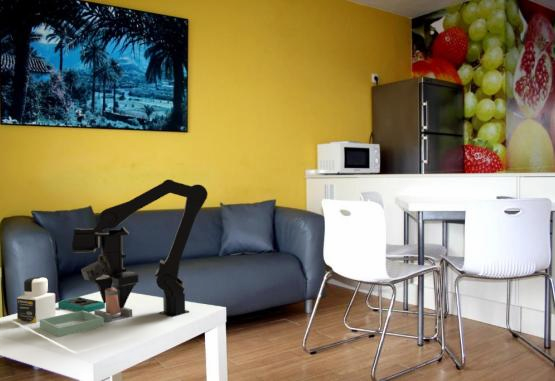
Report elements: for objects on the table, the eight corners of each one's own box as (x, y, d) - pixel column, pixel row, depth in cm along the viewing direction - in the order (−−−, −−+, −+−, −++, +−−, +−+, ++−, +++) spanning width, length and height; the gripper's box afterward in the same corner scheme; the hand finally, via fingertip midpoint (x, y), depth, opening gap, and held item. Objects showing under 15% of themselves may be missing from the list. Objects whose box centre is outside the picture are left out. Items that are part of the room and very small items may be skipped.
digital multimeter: (78, 304, 155) (77, 295, 155) (106, 310, 147) (105, 301, 147) (56, 309, 149) (56, 300, 149) (84, 316, 141) (84, 306, 141)
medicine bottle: (16, 322, 134) (15, 279, 134) (37, 315, 141) (37, 275, 141) (35, 324, 132) (34, 281, 132) (56, 317, 138) (55, 276, 138)
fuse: (123, 316, 137) (123, 288, 137) (110, 319, 134) (109, 291, 134) (116, 313, 140) (115, 286, 140) (102, 317, 137) (102, 289, 136)
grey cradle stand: (132, 317, 137) (132, 309, 137) (108, 323, 131) (108, 315, 131) (118, 313, 142) (117, 305, 142) (94, 318, 137) (94, 310, 137)
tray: (103, 327, 128) (103, 317, 128) (58, 338, 119) (58, 328, 119) (83, 319, 136) (83, 310, 136) (39, 328, 127) (39, 319, 127)
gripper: (69, 251, 137) (71, 305, 137) (101, 257, 124) (102, 317, 124) (106, 247, 145) (107, 298, 145) (139, 252, 132) (140, 308, 133)
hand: (113, 305), depth 137 cm, fingers open, 9 cm apart
